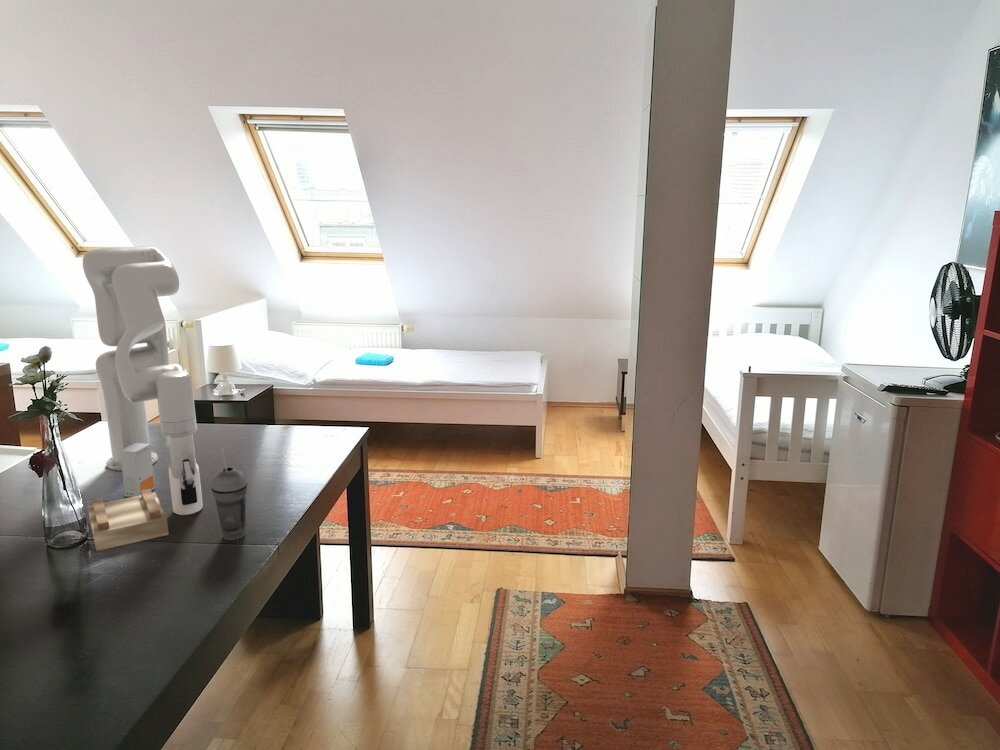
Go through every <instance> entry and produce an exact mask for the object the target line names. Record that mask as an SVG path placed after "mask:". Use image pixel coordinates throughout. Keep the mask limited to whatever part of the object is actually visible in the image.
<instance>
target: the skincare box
mask: <svg viewBox="0 0 1000 750" xmlns="http://www.w3.org/2000/svg"><path fill="white" fill-rule="evenodd" d="M151 452H152V450H151V443H150V444H143V443H135V444H133V445H130V446H128V447H126V448H125V449H123V450H121V451H120V458H121V466H122V471H121V474H122V481H123V482H122V483H123V492H124V496H125V497H127V498H130V497H135V496H140V495H141V491H142V490H147V489H151V491H153V490H155V488H156V486H155V476H154V468H153V464H152V457H151Z"/></svg>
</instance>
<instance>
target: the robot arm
mask: <svg viewBox="0 0 1000 750" xmlns="http://www.w3.org/2000/svg"><path fill="white" fill-rule="evenodd" d="M82 269H83V272H84V275H85V278H86V280H87V282H88V284H89V286H90V288H91V289H92V292H93V296H94V301H95V302H94V303H95V311H96V320H97V329H98V335H99V338H100V341H101V342H102V343H103V344H104V345H105V346H108V347H116V349H113V350H110V351H109V350H108V351H106V352H104V353H102V354H101V355H100V354H99V356H98V357H97V358H96V361H95V371H96V374H97V376H98V380H99V384H100V386H101V390H102V393H103V394H102V395H103V400H104V401H103V402H104V406H105V412H106V419H107V421H106V422H107V428H108V435H109V442H110V443H109V444H110V450H111V457H110V458H109V459H107V460H106V466H107V468H108V469H109V470H111V471H112V470H113V471H118V472H119V471H121V472H122V466H121V458H120V451H121V450H123V449H125V448H126V447H128V446H130V445H133V444H135V443H143V444H150V445H151V443H150V442H151V441H150V435H149V426H148V425H149V424H148V418H147V409H146V402H148V401H152V400H153V401H154V400H157V406H158V407H157V408H158V414H159V415H158V416H159V417H158V418H159V424H160V432H161V433H160V434H161V435H162V436H164V437H165V447H166V448H165V449H166V460H167V461H166V462H167V467H168V469H169V468H170V469H171V472H172V476H173V477H174V478H177V477H180V481H181V486H182V488H181V489H180V490H181V498H182V504H183V505H188V504H193V503H196V502H197V494H196V486H195V482H194V476H193V475H195V474H196V463H197V460H196V453H195V452H196V450H195V442H194V437H193V436H194V434H193V433H195V432H197V430H198V426H197V415H196V408H195V397H194V389H193V379H192V376H191V374H190V373H189V372H188V371H187V370H186V369H185V368H184V367H183V366H182V365H180V364H178V363H170V361H169V351H168V350H169V349H168V335H167V327H166V321H165V317H164V313H163V311H162V308H161V305H160V302H159V298H158V297H167V296H174V295H175V294H177V293H178V291H179V289H180V279H179V275H178V273H177V270H176V268H175V265H173V263H172V262H171V261H170V260H169V259H168V258H167V256H165V254H163V252H161V251H160V250H159V249H158V248H156V247H153V246H148V245H147V246H126V247H125V246H124V247H122V246H119V247H117V246H116V247H106V248H104V247H103V248H97V249H96V248H95V249H92V250H88V251H86V253H85V254H83V257H82ZM140 344H146V345H145V346H139V347H134V346H135V345H140ZM151 457H152V465H154V464H155V463H156V462H157V461H158V460H159V455H158V454H157V452H154V451H151ZM193 470H194V471H193ZM182 472H185V475H182ZM183 478H186V480H185V481H184V480H183Z"/></svg>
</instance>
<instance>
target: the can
mask: <svg viewBox="0 0 1000 750" xmlns="http://www.w3.org/2000/svg"><path fill="white" fill-rule="evenodd" d="M193 471H194V470H193ZM182 475H185V472H182ZM193 476H194V482H195V486H196V494H197V502H196V503H193V504H188V505H183V504H182V498H181V490H180V489H181V488H182V486H181V481H180V477H177V478H174V477H173V476H172V472H171V469H170V468H168V477H169V478H168V480H169V488H170V494H171V495H170V496H171V503H172V504H171V505H172V511H173V513H174V514H175V513H176V515H177V514H178V516H190V514H191V515H194V513H195V514H197V513H199V512H201V510H202V509H203V507H204V506H203V495H202V486H201V476H200V467H199V465H198V463H197V462H196V474H195V475H193ZM183 480H184V481H185V480H186V478H183ZM196 512H197V513H196Z"/></svg>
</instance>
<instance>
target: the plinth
mask: <svg viewBox="0 0 1000 750" xmlns="http://www.w3.org/2000/svg"><path fill="white" fill-rule="evenodd" d="M91 503H92V504H91V505H87V512H88V519H89V524H90V529H91V533H92V537H93V538H92V539H93V541H94V547H95V550H96V552H100V551H103V550H107V549H112V548H117V547H121V546H126V545H129V544H133V543H134V544H135V543H138V542H143V541H146V540H151V539H155V538H160V537H163V536H169V525H168V519H167V515H166V513H165V511H164V509H163V507H162V504H161V502H160V500H159V498H158V495H157V492H153V490H151V489H147V490H142V491H141V495H140V496H135V497H125V498H121V499H115V500H111V501H106V502H104V501H103V498H102V497H101V498H97V499H92V500H91Z"/></svg>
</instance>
